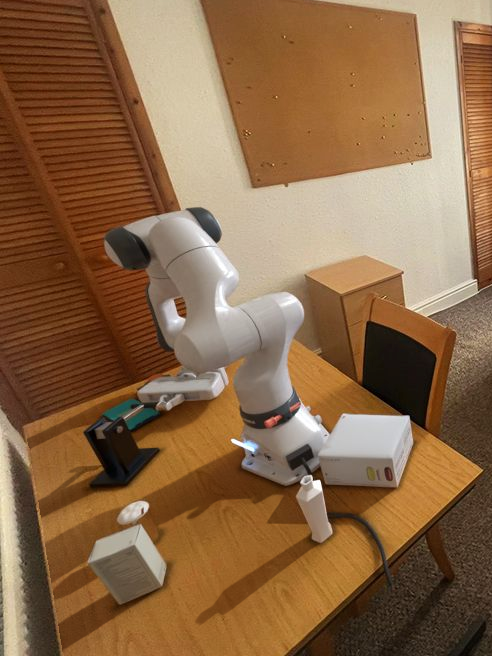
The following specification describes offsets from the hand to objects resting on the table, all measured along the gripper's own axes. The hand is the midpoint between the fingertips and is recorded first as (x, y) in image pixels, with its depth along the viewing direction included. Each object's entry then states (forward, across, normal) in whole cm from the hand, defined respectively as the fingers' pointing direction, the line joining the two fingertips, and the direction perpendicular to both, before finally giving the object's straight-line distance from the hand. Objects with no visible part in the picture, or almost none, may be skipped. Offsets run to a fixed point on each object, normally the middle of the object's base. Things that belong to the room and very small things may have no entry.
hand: (161, 408), depth 106 cm
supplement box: (+16, +58, +6) cm, 61 cm away
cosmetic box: (+40, +24, +6) cm, 47 cm away
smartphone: (-5, -14, +6) cm, 16 cm away
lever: (+9, 0, -4) cm, 10 cm away
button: (-14, -12, +2) cm, 19 cm away
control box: (-14, -12, +6) cm, 20 cm away
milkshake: (+32, +19, +6) cm, 38 cm away
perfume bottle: (+32, +53, +6) cm, 62 cm away
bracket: (+14, 0, +6) cm, 15 cm away
